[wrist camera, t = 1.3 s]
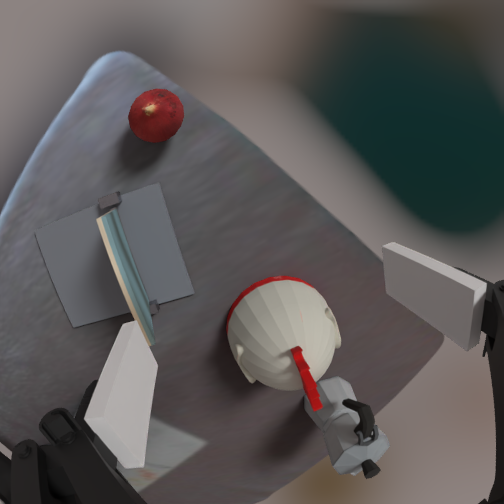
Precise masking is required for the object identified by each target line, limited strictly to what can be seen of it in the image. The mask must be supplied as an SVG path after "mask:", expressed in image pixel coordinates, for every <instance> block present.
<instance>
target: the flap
mask: <svg viewBox="0 0 504 504" xmlns="http://www.w3.org/2000/svg"><path fill="white" fill-rule="evenodd" d="M96 220H97V223H98V226H99V229H100V232H101V235H102V238H103V241H104V244H105V247H106V250H107V253H108V255H109V258H110V261H111V264H112V266H113V269H114V271H115V274H116V277H117V279H118V282H119V284H120V287H121V289H122V292H123V294H124V296H125V299H126V301H127V304H128V306H129V308H130V311H131V313H132V315H133V317H134V320H135V321H136V320H137V322H138V324H139V327H140V329H141V331H142V333H143V335H144V338H145V340H146V342H147V344H148V346H151V345H154V344H156V343H155V337H154V332H153V325H152V319H151V313H150V306H149V297H148V295H147V292H146V290H145V287H144V284H143V282H142V279H141V277H140V274H139V271H138V269H137V266H136V263H135V260H134V258H133V255H132V252H131V249H130V246H129V243H128V241H127V238H126V235H125V232H124V229H123V226H122V222H121V219H120V216H119V213H118V210H117V207H115V208H112V209H110V212H108V213H106V214H104V215H103V216H101V217H99V218H97V219H96Z"/></svg>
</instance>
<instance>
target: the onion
mask: <svg viewBox="0 0 504 504" xmlns="http://www.w3.org/2000/svg"><path fill="white" fill-rule="evenodd" d="M183 118H184V110H183V105H182V103H181V102H180V100H179V98H178V97H177V96H176V95H175V94H173V93H171V92H170V91H168V90H165V89H153V90H150V91H146V92H144V93H143V94H141V95H140V96H139V97H137V98H136V100H135V101H134V103H133V104H132V106H131V109H130V112H129V115H128V119H129V124H130V128H131V129H132V131H133V132H134V134H135V135H136V136H137V137H139V138H141V139H142V140H144V141H148V142H153V143H156V142H161V141H166V140H167V139H169V138H170V137H172V136H173V135H175V134H176V132H177V131H178V129H179V128H180V127H181V124H182V121H183Z"/></svg>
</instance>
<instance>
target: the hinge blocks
mask: <svg viewBox="0 0 504 504" xmlns="http://www.w3.org/2000/svg"><path fill="white" fill-rule="evenodd" d="M98 202H99V205H100V208H101V209H103V208H105V207H108V206H111V205H113V204H116V203H119V202H122V199H121V195H120V192H115V193H113V194H110V195H107V196H105V197H102V198H99V199H98ZM149 306H150V313H151V314H155V313H158V312H159V309H160V307H159V304H158V302H157V299H155V300H152V301H149Z"/></svg>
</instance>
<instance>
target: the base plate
mask: <svg viewBox="0 0 504 504" xmlns="http://www.w3.org/2000/svg"><path fill="white" fill-rule="evenodd" d="M121 199H122V202H119V203H116V204H113V205H111V206H108V207H105V208H103V209H101V208H100V205H99V204H97V205H94V206H91V207H89V208H86V209H84V210H81V211H79V212H76V213H74V214H71V215H69V216H67V217H64V218H62V219H60V220H57V221H55V222H53V223H50V224H48V225H46V226H43V227H41V228H39V229H37V230H34V232H35V235H36V238H37V241H38V244H39V247H40V250H41V253H42V255H43V258H44V261H45V263H46V266H47V269H48V271H49V274H50V276H51V279H52V281H53V284H54V286H55V288H56V291H57V293H58V295H59V298H60V300H61V302H62V304H63V307H64V309H65V311H66V313H67V315H68V317H69V319H70V322H71V324H72V326H73V328H74V327H78V326H82V325H85V324H89V323H93V322H96V321H100V320H104V319H107V318H111V317H115V316H118V315H122V314H125V313H129V312H131V311H130V308H129V306H128V304H127V301H126V299H125V296H124V294H123V292H122V289H121V287H120V284H119V282H118V279H117V277H116V274H115V271H114V269H113V266H112V264H111V261H110V258H109V255H108V253H107V250H106V247H105V244H104V241H103V238H102V235H101V232H100V229H99V226H98V223H97V220H96V219H97V218H99V217H101V216H103V215H104V214H106V213H108V212H110V209H112V208H115V207H117V210H118V213H119V216H120V219H121V222H122V226H123V229H124V232H125V235H126V238H127V241H128V243H129V246H130V249H131V252H132V255H133V258H134V260H135V263H136V266H137V269H138V271H139V274H140V277H141V279H142V282H143V284H144V287H145V290H146V292H147V295H148V297H149V301H152V300H155V299H157V302H158V304H161V303H164V302H168V301H171V300H175V299H178V298H181V297H185V296H188V295H192V294H195V292H194V289H193V286H192V283H191V280H190V277H189V274H188V272H187V269H186V266H185V263H184V260H183V257H182V254H181V251H180V248H179V245H178V241H177V238H176V235H175V232H174V229H173V226H172V222H171V219H170V216H169V213H168V209H167V206H166V203H165V199H164V196H163V193H162V189H161V186H160V182H158V183H155V184H152V185H149V186H146V187H144V188H141V189H138V190H135V191H132V192H129V193H126V194H123V195H121Z"/></svg>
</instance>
